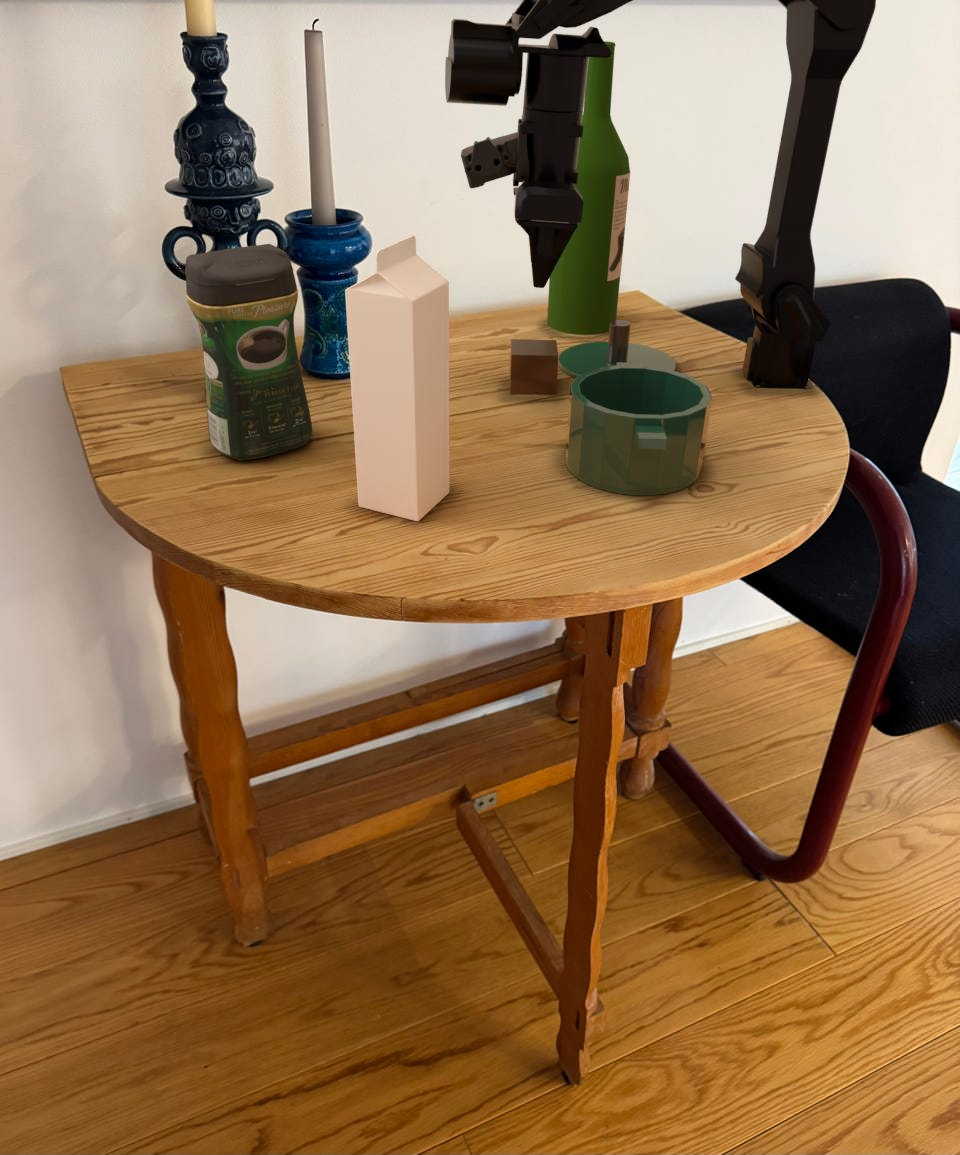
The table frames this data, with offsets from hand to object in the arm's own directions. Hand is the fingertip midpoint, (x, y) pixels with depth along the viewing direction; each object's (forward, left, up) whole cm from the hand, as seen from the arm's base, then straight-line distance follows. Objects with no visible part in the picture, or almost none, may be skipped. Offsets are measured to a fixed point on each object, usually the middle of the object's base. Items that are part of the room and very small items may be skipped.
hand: (537, 274), depth 99 cm
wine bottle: (-7, -22, -13) cm, 26 cm away
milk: (+12, +26, -13) cm, 31 cm away
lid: (-10, -7, -12) cm, 17 cm away
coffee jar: (+27, +15, -13) cm, 34 cm away
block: (0, 0, -13) cm, 13 cm away
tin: (-9, +18, -13) cm, 24 cm away
